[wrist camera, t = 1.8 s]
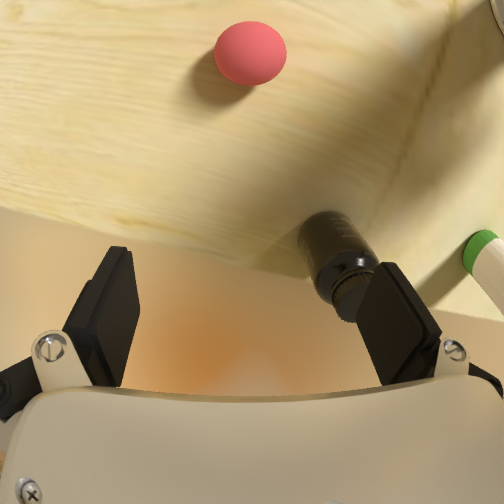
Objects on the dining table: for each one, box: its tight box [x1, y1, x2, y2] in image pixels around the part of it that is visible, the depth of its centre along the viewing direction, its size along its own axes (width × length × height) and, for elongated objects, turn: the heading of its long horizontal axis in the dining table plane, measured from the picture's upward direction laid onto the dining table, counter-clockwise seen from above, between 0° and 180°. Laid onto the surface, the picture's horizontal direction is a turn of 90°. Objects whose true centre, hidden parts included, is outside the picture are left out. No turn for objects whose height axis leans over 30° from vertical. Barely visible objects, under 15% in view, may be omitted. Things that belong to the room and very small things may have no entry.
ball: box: [214, 21, 286, 86], centre depth 20 cm, size 6×6×6 cm
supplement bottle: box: [299, 211, 380, 323], centre depth 29 cm, size 7×7×12 cm
